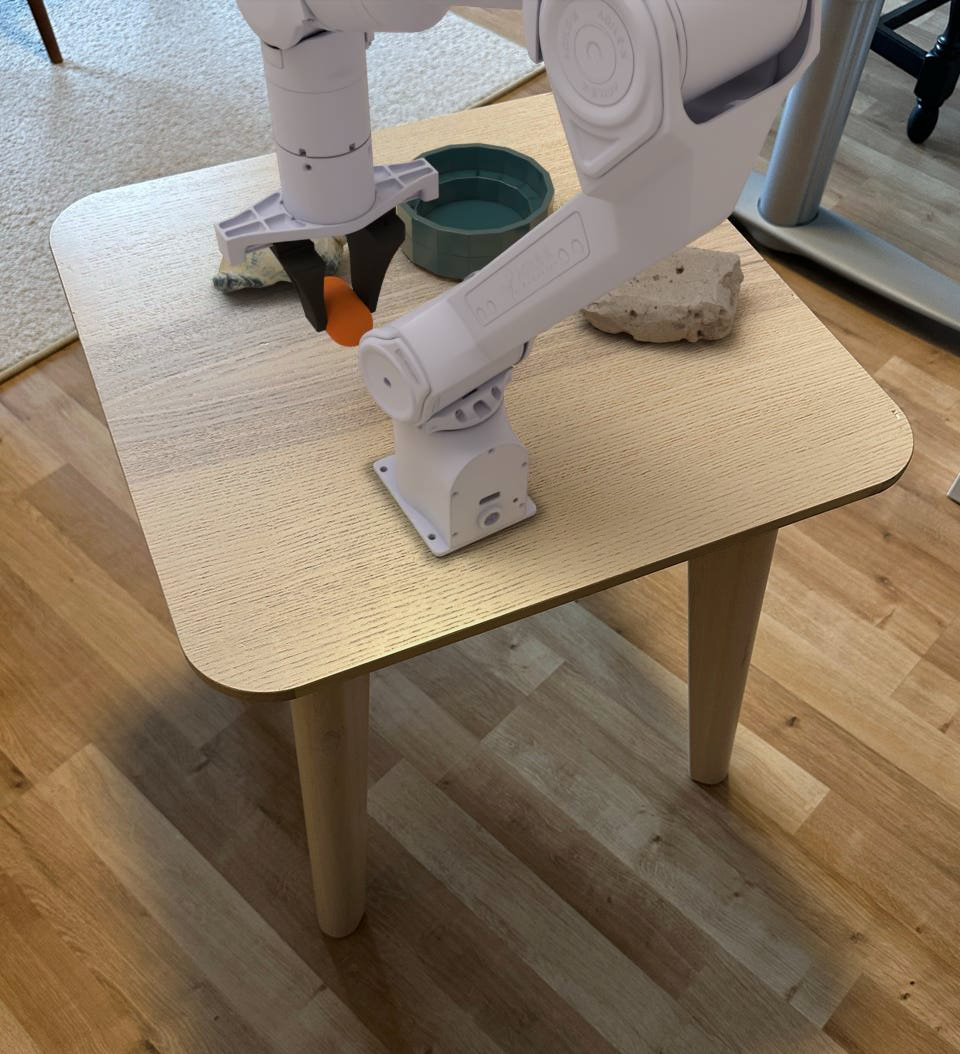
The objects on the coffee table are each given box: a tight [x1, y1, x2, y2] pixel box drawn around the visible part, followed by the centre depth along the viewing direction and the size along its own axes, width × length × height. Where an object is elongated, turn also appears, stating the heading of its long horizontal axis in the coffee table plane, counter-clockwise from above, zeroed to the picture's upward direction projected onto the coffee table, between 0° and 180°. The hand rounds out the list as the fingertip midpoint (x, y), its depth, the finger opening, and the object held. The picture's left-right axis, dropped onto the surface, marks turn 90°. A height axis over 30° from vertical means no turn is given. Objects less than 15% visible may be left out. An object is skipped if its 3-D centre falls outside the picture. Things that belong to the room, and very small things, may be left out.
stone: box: [579, 246, 745, 343], centre depth 86 cm, size 13×6×10 cm
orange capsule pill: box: [324, 276, 374, 348], centre depth 74 cm, size 6×3×3 cm, turn 31°
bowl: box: [396, 142, 556, 281], centre depth 92 cm, size 13×13×5 cm
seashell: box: [211, 234, 347, 294], centre depth 88 cm, size 6×8×12 cm
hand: (341, 313), depth 74 cm, fingers closed on orange capsule pill, 3 cm apart
